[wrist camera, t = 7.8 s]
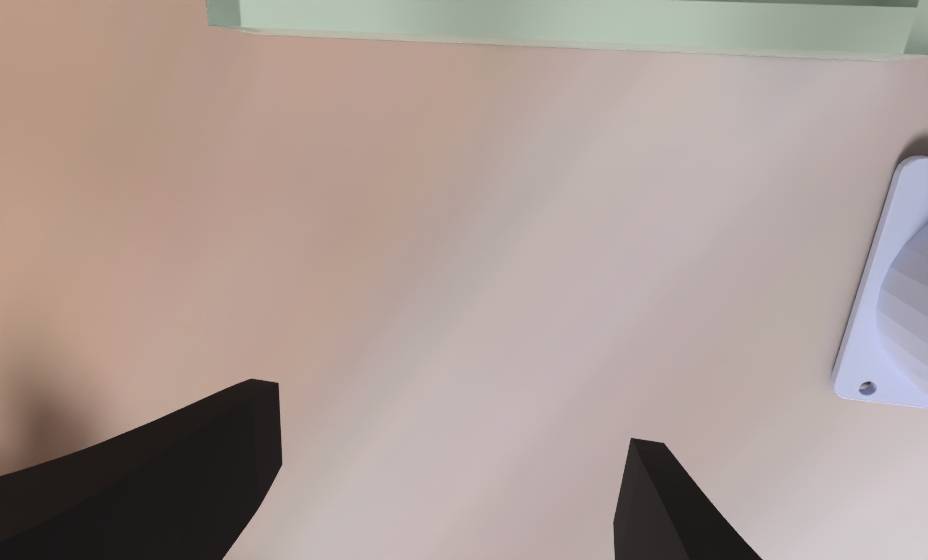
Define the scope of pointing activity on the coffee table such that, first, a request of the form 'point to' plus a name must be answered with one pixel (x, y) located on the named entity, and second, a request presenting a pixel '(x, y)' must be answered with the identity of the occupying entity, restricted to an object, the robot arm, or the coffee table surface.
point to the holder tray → (607, 24)
